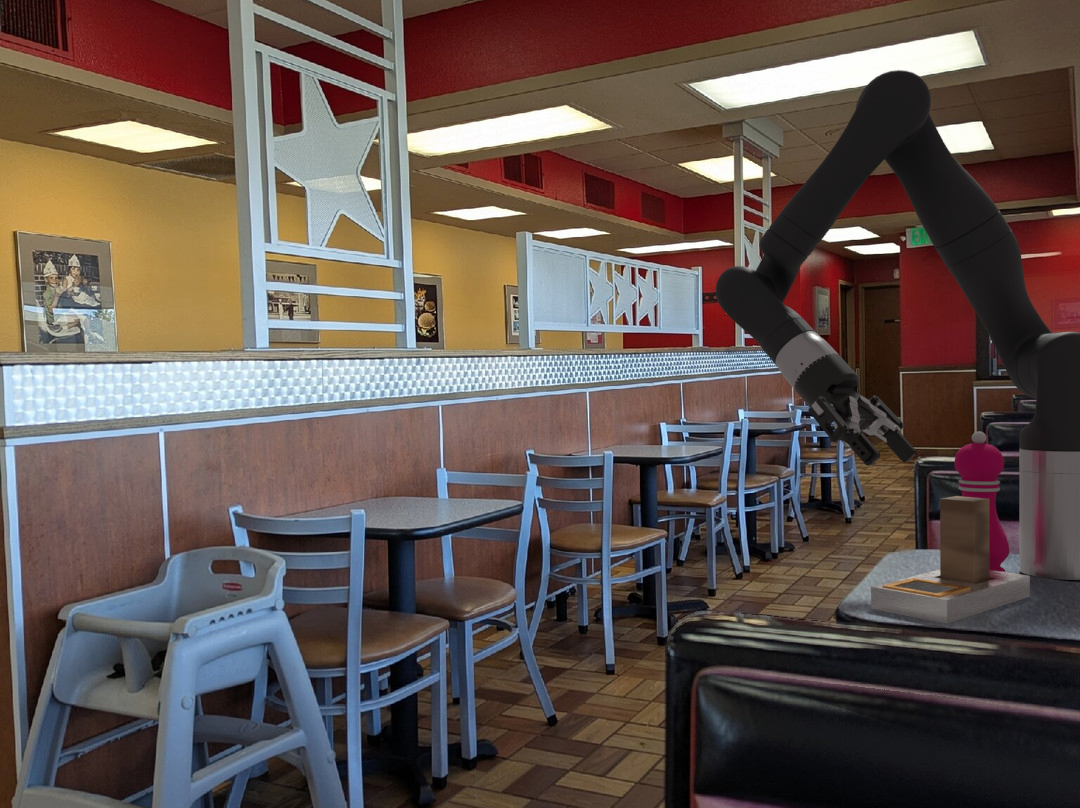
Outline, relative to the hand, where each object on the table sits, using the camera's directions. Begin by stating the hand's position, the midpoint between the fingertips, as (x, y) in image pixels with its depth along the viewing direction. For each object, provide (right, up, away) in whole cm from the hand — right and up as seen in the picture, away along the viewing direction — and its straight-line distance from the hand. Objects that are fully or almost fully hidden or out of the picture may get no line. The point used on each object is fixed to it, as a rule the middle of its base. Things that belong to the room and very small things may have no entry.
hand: (893, 459), depth 118 cm
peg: (+6, -16, -7) cm, 19 cm away
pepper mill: (+14, -17, +6) cm, 22 cm away
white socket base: (+4, -17, -9) cm, 19 cm away
